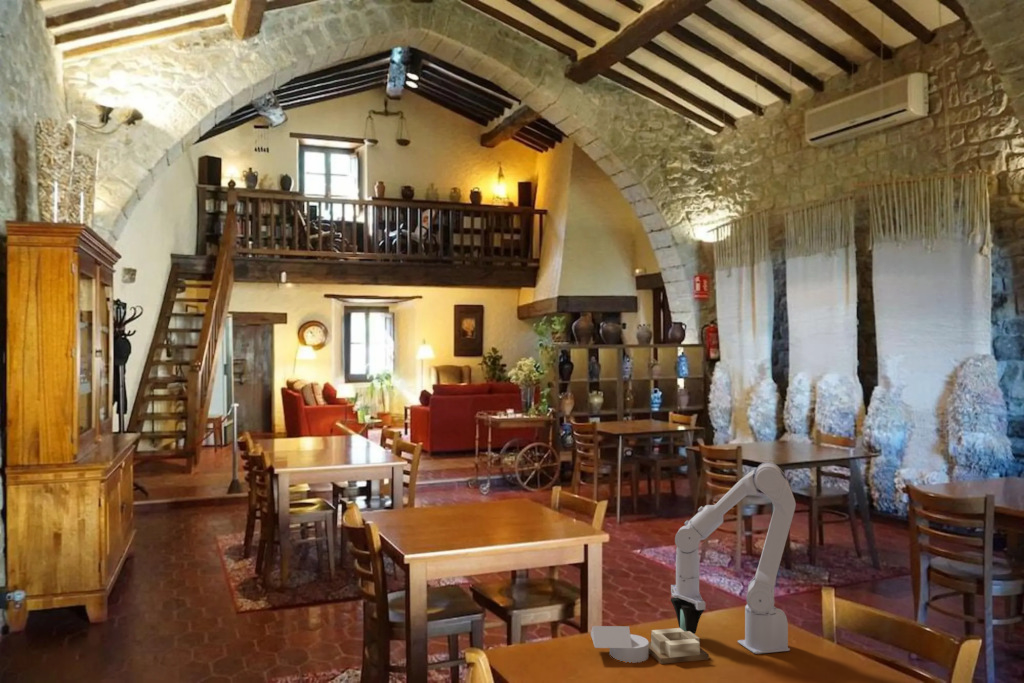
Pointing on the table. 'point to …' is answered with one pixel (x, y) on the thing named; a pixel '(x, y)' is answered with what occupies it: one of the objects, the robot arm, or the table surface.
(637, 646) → the wedge on round base
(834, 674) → the table surface
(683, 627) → the peg
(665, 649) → the socket board
